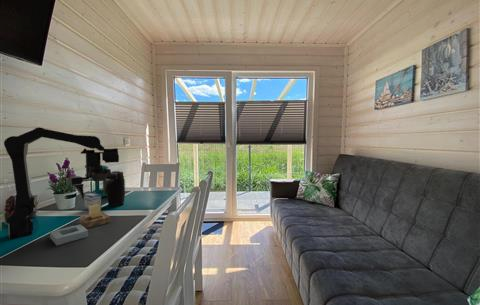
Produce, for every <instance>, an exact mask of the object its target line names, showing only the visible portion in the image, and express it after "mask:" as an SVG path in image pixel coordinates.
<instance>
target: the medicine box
mask: <svg viewBox="0 0 480 305" xmlns="http://www.w3.org/2000/svg"><path fill="white" fill-rule="evenodd" d="M95 204H98V205H100V211H101V210H102V195H101V194H99V193H93V192H91V193H85V194H84V210H85V211H88V212H89V206H90V205H95Z"/></svg>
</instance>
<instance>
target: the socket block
mask: <svg viewBox="0 0 480 305" xmlns="http://www.w3.org/2000/svg"><path fill="white" fill-rule="evenodd" d="M88 237H89V230H88V228H85V227H83V226H82V225H81V224H79V223H78V224H76V225H72V226H67V227H64V228H60V229H59V228H58V229H55V230H51V231H49V238H50V240H51V241H52V242H53V243H54V245H55V246H59V245H60V246H61V245H63V244H67V243H71V242H74V241H78V240H81V239H84V238H88Z"/></svg>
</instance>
